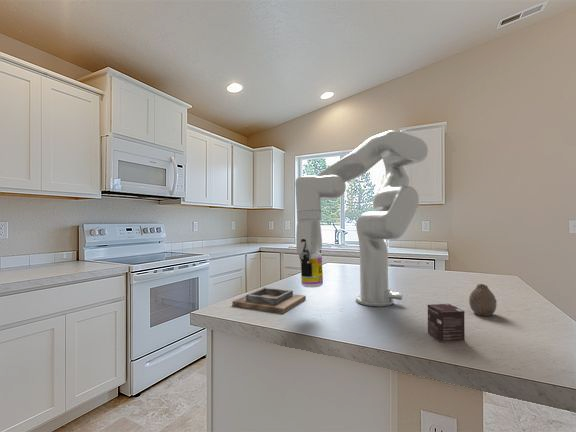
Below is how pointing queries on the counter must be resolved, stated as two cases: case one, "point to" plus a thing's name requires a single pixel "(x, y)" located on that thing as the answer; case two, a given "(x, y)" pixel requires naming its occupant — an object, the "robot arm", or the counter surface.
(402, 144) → the robot arm
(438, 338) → the box
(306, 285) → the supplement bottle
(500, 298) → the counter surface
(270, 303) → the board
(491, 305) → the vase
